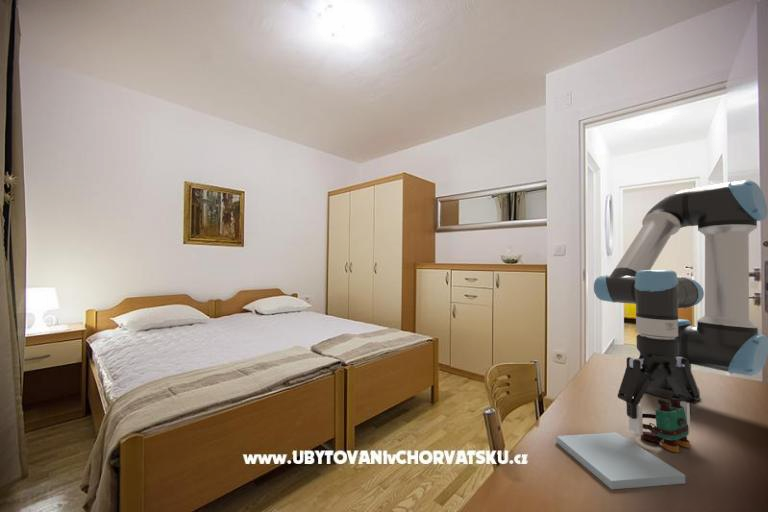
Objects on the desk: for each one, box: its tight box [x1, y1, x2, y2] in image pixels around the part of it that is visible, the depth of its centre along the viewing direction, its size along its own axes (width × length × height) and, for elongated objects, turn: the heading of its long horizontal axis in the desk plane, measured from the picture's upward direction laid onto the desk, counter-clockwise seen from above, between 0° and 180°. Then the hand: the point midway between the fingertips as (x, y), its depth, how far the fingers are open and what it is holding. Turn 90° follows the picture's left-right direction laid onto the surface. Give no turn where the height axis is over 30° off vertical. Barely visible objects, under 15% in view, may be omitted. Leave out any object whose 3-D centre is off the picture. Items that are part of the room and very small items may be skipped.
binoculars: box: [640, 395, 691, 453], centre depth 73 cm, size 9×11×10 cm
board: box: [556, 432, 686, 490], centre depth 65 cm, size 15×15×2 cm
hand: (659, 430), depth 72 cm, fingers open, 11 cm apart
